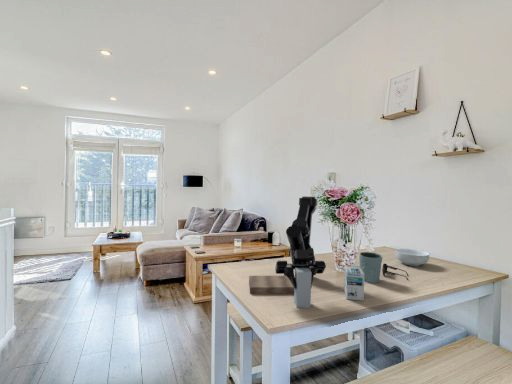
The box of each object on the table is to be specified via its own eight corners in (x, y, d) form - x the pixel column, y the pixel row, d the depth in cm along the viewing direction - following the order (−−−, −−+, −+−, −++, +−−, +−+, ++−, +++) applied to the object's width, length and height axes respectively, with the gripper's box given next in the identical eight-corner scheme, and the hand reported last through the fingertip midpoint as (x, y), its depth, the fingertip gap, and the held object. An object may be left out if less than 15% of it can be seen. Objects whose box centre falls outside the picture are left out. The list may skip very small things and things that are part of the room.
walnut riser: (288, 280, 129) (288, 275, 129) (293, 293, 115) (294, 287, 115) (248, 281, 128) (249, 275, 128) (250, 293, 114) (250, 287, 114)
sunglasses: (382, 270, 146) (384, 261, 146) (408, 278, 140) (410, 268, 140) (380, 276, 137) (381, 266, 137) (407, 284, 131) (409, 274, 131)
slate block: (307, 301, 107) (308, 268, 107) (310, 307, 102) (311, 272, 102) (294, 301, 107) (295, 267, 106) (296, 307, 102) (297, 272, 101)
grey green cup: (367, 275, 139) (368, 251, 139) (386, 281, 131) (387, 255, 130) (353, 278, 134) (354, 253, 133) (372, 285, 125) (373, 258, 125)
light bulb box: (364, 301, 108) (365, 273, 108) (346, 299, 110) (346, 272, 109) (359, 290, 119) (360, 265, 118) (343, 289, 120) (344, 264, 120)
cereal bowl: (431, 264, 160) (432, 251, 160) (425, 270, 147) (426, 257, 147) (399, 258, 171) (399, 246, 171) (391, 264, 159) (391, 251, 158)
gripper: (276, 239, 107) (280, 278, 96) (325, 240, 108) (333, 278, 97) (274, 254, 115) (277, 292, 105) (318, 255, 116) (326, 291, 106)
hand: (303, 288), depth 103 cm, fingers closed on slate block, 5 cm apart
